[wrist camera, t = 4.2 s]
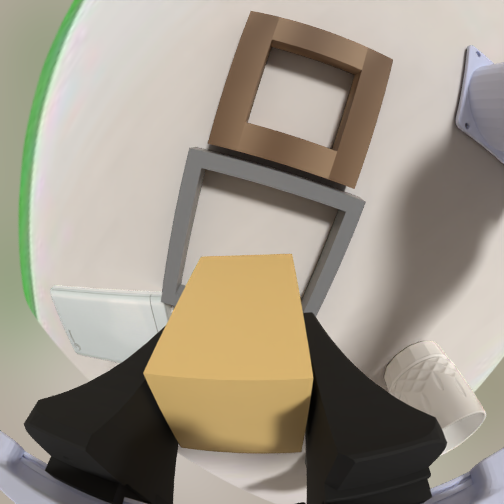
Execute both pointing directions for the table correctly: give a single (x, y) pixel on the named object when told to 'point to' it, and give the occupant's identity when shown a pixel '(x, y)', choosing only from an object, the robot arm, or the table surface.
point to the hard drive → (109, 319)
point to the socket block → (286, 146)
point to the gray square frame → (273, 178)
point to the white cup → (435, 390)
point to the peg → (235, 358)
